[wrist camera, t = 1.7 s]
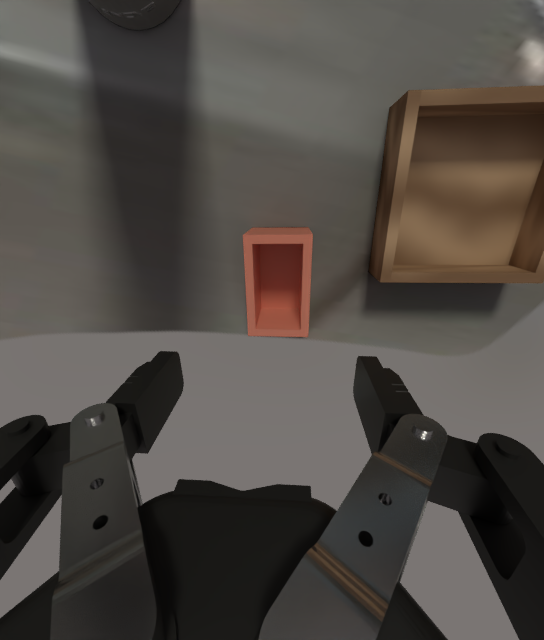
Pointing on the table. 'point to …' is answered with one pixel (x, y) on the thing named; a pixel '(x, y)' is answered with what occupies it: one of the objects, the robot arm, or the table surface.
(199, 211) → the table surface
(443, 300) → the table surface
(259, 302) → the red open box
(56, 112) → the table surface
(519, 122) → the wooden crate
